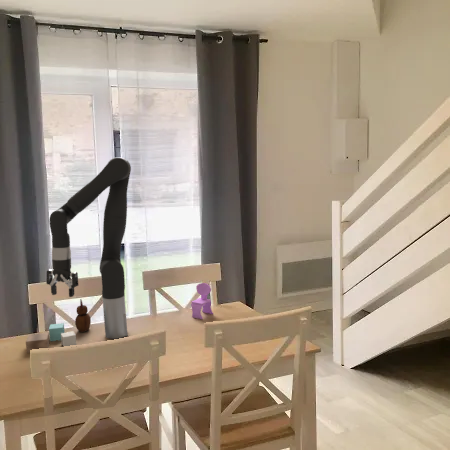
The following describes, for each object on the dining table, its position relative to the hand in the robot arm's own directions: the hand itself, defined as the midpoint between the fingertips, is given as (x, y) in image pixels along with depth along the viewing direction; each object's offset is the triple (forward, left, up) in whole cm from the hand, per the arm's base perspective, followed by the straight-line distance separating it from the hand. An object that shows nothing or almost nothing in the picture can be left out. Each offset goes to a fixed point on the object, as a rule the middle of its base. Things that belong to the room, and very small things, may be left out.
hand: (62, 295), depth 218 cm
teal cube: (+4, -1, -19) cm, 19 cm away
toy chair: (-60, -10, -19) cm, 64 cm away
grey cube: (-2, +9, -19) cm, 21 cm away
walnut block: (+10, +8, -19) cm, 23 cm away
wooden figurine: (-7, -7, -19) cm, 21 cm away
